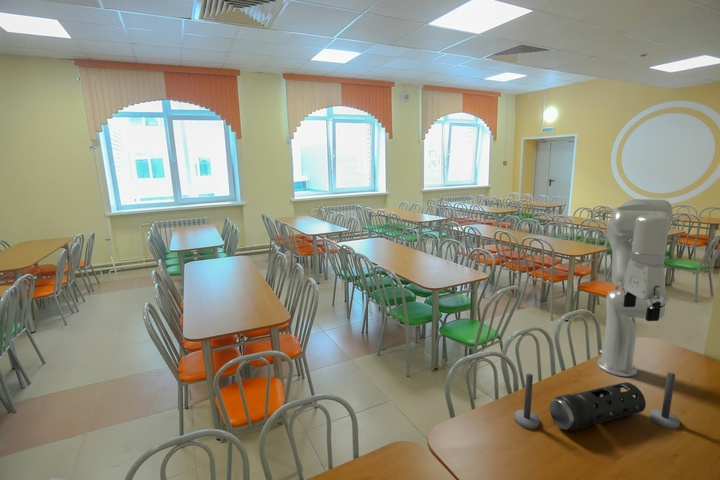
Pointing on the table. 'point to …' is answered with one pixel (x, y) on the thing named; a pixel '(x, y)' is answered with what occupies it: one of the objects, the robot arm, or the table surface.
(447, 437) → the table surface
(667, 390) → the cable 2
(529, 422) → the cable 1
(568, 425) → the muzzle brake
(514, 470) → the table surface
